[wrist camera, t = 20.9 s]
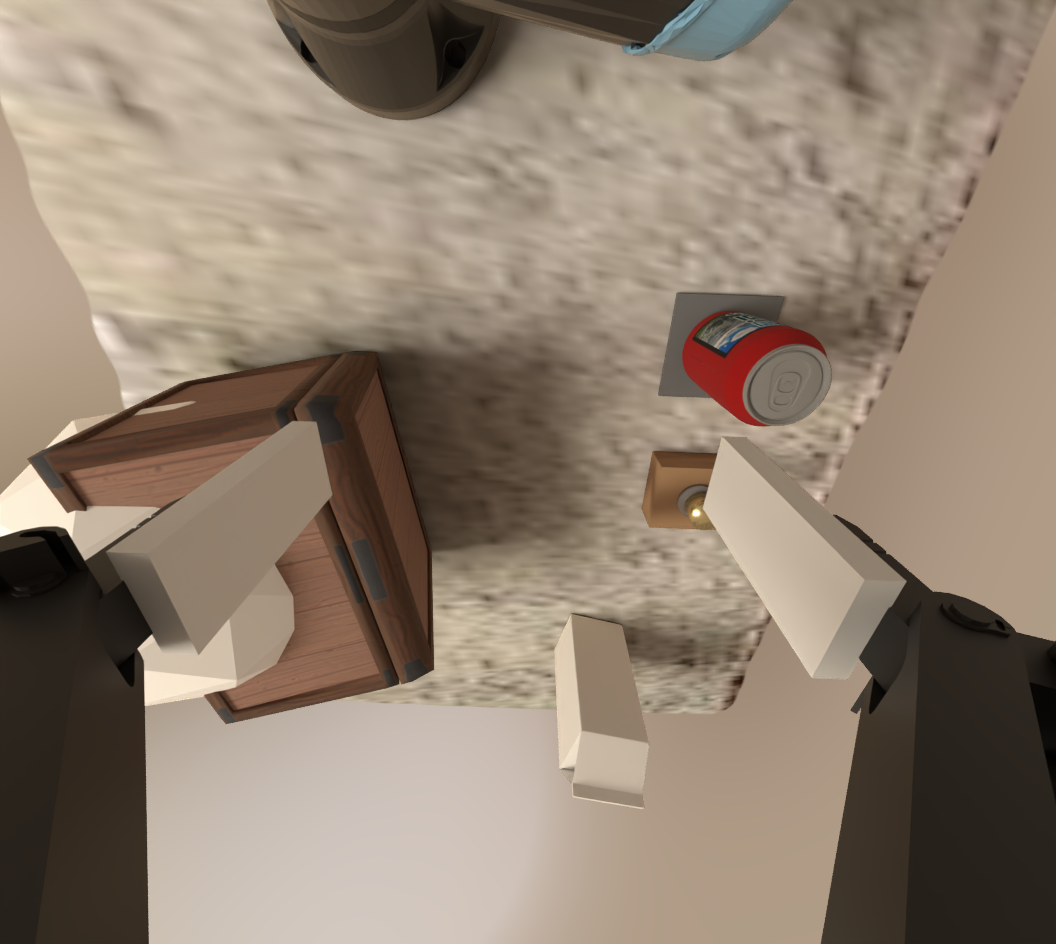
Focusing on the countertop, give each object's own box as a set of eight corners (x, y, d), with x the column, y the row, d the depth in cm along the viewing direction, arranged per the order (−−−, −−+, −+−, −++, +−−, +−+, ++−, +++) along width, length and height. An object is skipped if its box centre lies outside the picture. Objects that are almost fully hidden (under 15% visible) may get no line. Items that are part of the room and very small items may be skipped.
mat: (676, 292, 36) (678, 293, 35) (781, 296, 36) (784, 297, 35) (658, 394, 40) (659, 395, 40) (752, 397, 40) (754, 399, 40)
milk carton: (570, 612, 54) (585, 776, 37) (622, 623, 55) (660, 789, 38) (553, 648, 57) (561, 814, 40) (603, 658, 58) (630, 826, 41)
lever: (785, 475, 39) (798, 486, 37) (784, 499, 40) (797, 512, 38) (682, 495, 40) (690, 508, 38) (685, 519, 41) (692, 532, 39)
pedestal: (652, 451, 43) (663, 469, 39) (730, 454, 43) (748, 472, 39) (641, 508, 46) (650, 530, 43) (714, 511, 46) (728, 533, 43)
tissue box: (431, 535, 53) (436, 717, 32) (193, 587, 49) (15, 834, 28) (379, 340, 42) (331, 420, 21) (64, 388, 38) (-398, 547, 17)
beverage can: (766, 310, 36) (862, 335, 25) (744, 387, 39) (821, 438, 29) (687, 307, 36) (751, 330, 25) (672, 384, 39) (722, 433, 29)
